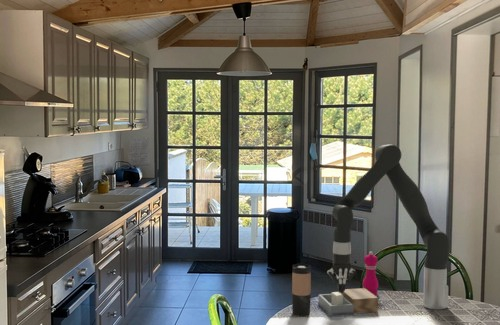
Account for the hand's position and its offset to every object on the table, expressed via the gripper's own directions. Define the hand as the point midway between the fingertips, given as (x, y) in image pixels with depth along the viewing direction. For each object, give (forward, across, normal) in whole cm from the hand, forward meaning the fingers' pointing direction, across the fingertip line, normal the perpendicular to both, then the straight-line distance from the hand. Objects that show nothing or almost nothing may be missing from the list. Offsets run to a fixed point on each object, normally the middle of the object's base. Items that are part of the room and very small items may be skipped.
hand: (341, 292), depth 238 cm
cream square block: (+4, 0, -1) cm, 4 cm away
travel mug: (+7, +18, +3) cm, 20 cm away
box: (+7, +2, 0) cm, 7 cm away
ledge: (+7, -8, 0) cm, 11 cm away
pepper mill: (+7, -20, -17) cm, 28 cm away
